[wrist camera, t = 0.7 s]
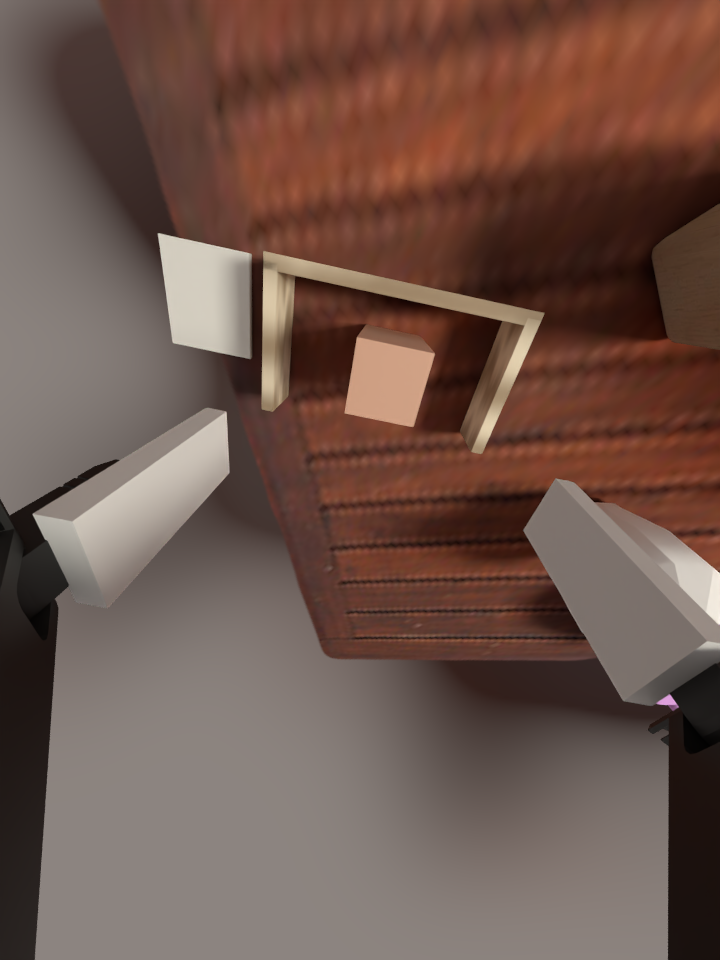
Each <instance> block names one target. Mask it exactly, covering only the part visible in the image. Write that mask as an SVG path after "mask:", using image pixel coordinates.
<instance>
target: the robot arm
mask: <svg viewBox="0 0 720 960" xmlns="http://www.w3.org/2000/svg"><path fill="white" fill-rule="evenodd" d="M228 474H229V454H228V435H227V414H226V411H221V410H215V409H211V408H205V409H203V410H202V411H200V412H198V413H197V414H195V415H194V416H192V417H191V418H189V419H187V420H185V421H184V422H182V423H180V424H179V425H177V426H176V427H174V428H172V429H171V430H169V431H167V432H166V433H164V434H163V435H161V436H159V437H158V438H156V439H154V440H153V441H151V442H149V443H148V444H146V445H144V446H143V447H141V448H140V449H138V450H136V451H135V452H133V453H131V454H130V455H128V456H126V457H125V458H123V459H122V460H113V461H110V462H107V463H103V464H100V465H97V466H94V467H93V468H91V469H89V470H87V471H86V472H84V473H82V474H81V475H79V476H78V478H74V479H72V480H70V481H69V482H67V483H65V484H64V486H63V487H58V488H56V489H55V490H53V491H51V492H49V493H48V494H46V495H44V496H43V497H41V498H39V499H37V500H36V501H34V502H32V503H30V504H29V505H27V506H25V507H24V508H22V509H20V510H18V511H17V512H15V513H13V514H11V515H10V516H9V514H8V512H7V510H6V509H5V507H4V505H3V503H2V501H1V499H0V960H35V945H36V931H37V916H38V902H39V887H40V873H41V872H40V871H41V857H42V842H43V828H44V813H45V799H46V784H47V770H48V754H49V740H50V726H51V725H50V724H51V711H52V696H53V682H54V667H55V652H56V637H57V623H58V622H57V621H58V605H57V602H56V600H55V598H56V597H57V596H58V595H59V594H60V593H62V591H64V590H65V589H66V588H67V587H69V589H70V591H71V593H72V595H73V597H74V599H75V601H76V602H77V603H82V604H88V605H93V606H99V607H104V608H109V606H110V605H111V604H112V603H113V602H114V601H115V600H116V598H117V597H118V596H119V595H120V594H121V593H122V592H123V591H124V590H125V589H126V587H127V586H128V585H129V584H130V583H131V582H132V581H133V580H134V579H135V577H136V576H137V575H138V574H139V573H140V571H142V569H143V568H144V567H145V566H146V565H147V564H148V563H149V562H150V561H151V560H152V558H153V557H154V556H155V555H156V554H157V553H158V552H159V551H160V549H161V548H162V547H163V546H164V545H165V544H166V543H167V542H168V541H169V539H170V538H171V537H172V536H173V535H174V534H175V533H176V532H177V531H178V529H179V528H180V527H181V526H182V525H183V524H184V523H185V522H186V521H187V519H188V518H189V517H190V516H191V515H192V514H193V513H194V511H196V509H197V508H198V507H199V506H200V505H201V504H202V503H203V501H204V500H205V499H206V498H207V497H208V496H209V495H210V494H211V493H212V492H213V490H214V489H215V488H216V487H217V486H218V485H219V484H220V483H221V481H222V480H223V479H224V478H225V477H226V476H227V475H228ZM523 531H524V533H525V534H526V536H527V538H528V540H529V541H530V543H531V545H532V546H533V548H534V550H535V551H536V553H537V555H538V557H539V558H540V560H541V562H542V563H543V565H544V567H545V568H546V570H547V572H548V574H549V575H550V577H551V579H552V580H553V582H554V584H555V586H556V587H557V589H558V591H559V592H560V594H561V596H562V597H563V599H564V601H565V603H566V604H567V606H568V608H569V609H570V611H571V613H572V614H573V616H574V618H575V620H576V621H577V623H578V625H579V626H580V628H581V630H582V631H583V633H584V635H585V637H586V638H587V640H588V642H589V643H590V645H591V647H592V648H593V650H594V652H595V654H596V655H597V657H598V659H599V660H600V662H601V664H602V665H603V667H604V669H605V670H606V672H607V674H608V676H609V677H610V679H611V681H612V683H613V684H614V686H615V687H616V689H617V691H618V693H619V694H620V696H621V698H622V699H623V701H627V702H633V703H638V704H643V705H649V706H652V705H654V704H656V703H657V702H659V701H660V700H662V699H663V698H665V697H666V696H668V695H669V694H670V695H671V697H672V698H673V699H674V701H675V702H676V704H677V705H678V706H679V707H678V708H677V709H675V710H673V711H672V712H670V713H669V714H667V715H665V716H663V717H662V718H660V719H659V720H657V721H655V722H654V723H652V724H650V726H649V728H648V731H650V732H651V733H652V734H654V733H656V732H657V731H659V730H661V729H665V730H667V731H669V735H667V736H665V737H664V738H662V739H661V740H662V741H663V742H664V743H665V744H667V745H668V746H669V841H668V842H669V843H668V844H669V848H668V852H669V854H668V855H669V856H668V865H669V866H668V960H720V626H719V625H718V624H717V623H716V622H715V621H714V620H713V619H712V618H711V617H710V616H709V615H708V614H707V613H706V612H705V611H704V610H703V609H702V608H701V607H700V606H699V605H698V604H697V603H696V602H695V601H694V600H693V599H692V598H691V597H690V596H689V595H688V594H687V593H686V592H685V591H684V590H683V589H682V588H681V587H680V586H679V585H678V584H677V583H676V582H675V581H674V580H673V579H672V578H671V577H670V576H669V575H668V574H667V573H666V572H665V571H664V570H663V569H661V568H660V567H659V566H658V565H657V564H656V563H655V562H654V561H653V560H652V559H651V558H650V557H649V556H648V555H647V554H646V553H645V552H644V551H643V550H642V549H641V548H640V547H639V546H638V545H637V544H636V543H635V542H634V541H633V540H632V539H631V538H630V537H629V536H628V535H627V534H626V533H625V532H624V531H623V530H622V529H621V528H620V527H619V526H618V525H617V524H616V523H615V522H614V521H613V520H612V519H611V518H610V517H609V516H608V515H607V514H606V513H605V512H604V511H603V510H602V509H601V508H600V507H598V506H597V505H596V504H595V503H594V502H593V501H592V500H591V499H590V498H589V497H588V496H587V495H586V494H585V493H584V492H583V491H582V490H581V489H580V488H579V487H578V486H577V485H576V484H575V483H574V482H570V481H565V480H560V479H555V480H554V482H553V483H552V485H551V486H550V488H549V490H548V491H547V493H546V494H545V496H544V498H543V499H542V501H541V503H540V504H539V506H538V507H537V509H536V511H535V512H534V514H533V515H532V517H531V519H530V520H529V522H528V523H527V525H526V527H525V528H524V530H523Z"/></svg>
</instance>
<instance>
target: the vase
mask: <svg viewBox="0 0 720 960" xmlns="http://www.w3.org/2000/svg"><path fill="white" fill-rule="evenodd" d="M594 503H595V504H596V505H597V506H598V507H600V508H601V509H602V510H603V511H604V512H605V513H606V514H607V515H608V516H609V517H610V518H611V519H612V520H613V521H614V522H615V523H616V524H617V525H618V526H619V527H620V528H621V529H622V530H623V531H624V532H625V533H626V534H627V535H628V536H629V537H630V538H631V539H632V540H633V541H634V542H635V543H636V544H637V545H638V546H639V547H640V548H641V549H642V550H643V551H644V552H645V553H646V554H647V555H648V556H649V557H650V558H651V559H652V560H653V561H654V562H655V563H656V564H657V565H658V566H659V567H660V568H661V569H663V570H664V571H665V572H666V573H667V574H668V575H669V576H670V577H671V578H672V579H673V580H674V581H675V582H676V583H677V584H678V585H679V586H680V587H681V588H682V589H683V590H684V591H685V592H686V593H687V594H688V595H689V596H690V597H691V598H692V599H693V600H694V601H695V602H696V603H697V604H698V605H699V606H700V607H701V608H702V609H703V610H704V611H705V612H706V613H707V614H708V615H709V616H710V617H711V618H712V619H713V620H714V621H715V622H716V623H717V624H718V625H719V624H720V573H719V572H718V571H716V570H715V569H714V568H713V567H712V566H710V565H709V564H708V563H707V562H706V561H704V560H703V559H702V558H701V557H700V556H698V555H697V554H696V553H695V552H694V551H692V550H691V549H690V548H689V547H688V546H686V545H685V544H684V543H683V542H682V541H680V540H679V539H678V538H677V537H676V536H674V535H673V534H672V533H671V532H670V531H668V530H666V529H664V528H662V527H660V526H658V525H656V524H654V523H652V522H650V521H648V520H646V519H643V518H641V517H639V516H637V515H635V514H633V513H631V512H629V511H627V510H625V509H622V508H621V507H619V506H617V505H616V504H614V503H600V502H594ZM562 598H563V597H562ZM563 600H564V599H563ZM566 605H567V604H566ZM567 607H568V606H567ZM568 609H569V608H568ZM569 611H570V609H569ZM570 613H571V611H570ZM571 614H572V613H571ZM572 616H573V614H572ZM573 618H574V616H573ZM574 620H575V618H574ZM575 621H576V620H575ZM576 623H577V621H576ZM577 625H578V623H577ZM578 626H579V625H578ZM579 628H580V626H579ZM580 630H581V628H580ZM581 632H582V633H583V631H582V630H581Z"/></svg>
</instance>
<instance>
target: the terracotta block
mask: <svg viewBox="0 0 720 960" xmlns="http://www.w3.org/2000/svg"><path fill="white" fill-rule="evenodd" d="M434 356H435V353H434V352H433V351H432V350H431V348H430V347H429V346H428V345H427V344H426V342H425V341H424V340H423V339H422V338H421V337H420V336H418V335H414V334H409V333H404V332H400V331H395V330H390V329H386V328H381V327H377V326H372V325H367V324H366V325H365V327H364V328H363V329H362V331H361V332H360V334H359V335H358V336H357V341H356V347H355V353H354V359H353V365H352V371H351V377H350V383H349V389H348V396H347V402H346V408H345V413H346V414H351V415H356V416H361V417H366V418H371V419H376V420H381V421H385V422H390V423H395V424H400V425H405V426H410V427H413V426H414V423H415V420H416V416H417V413H418V409H419V406H420V403H421V399H422V396H423V393H424V389H425V386H426V383H427V379H428V376H429V372H430V369H431V366H432V362H433V359H434Z"/></svg>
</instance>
